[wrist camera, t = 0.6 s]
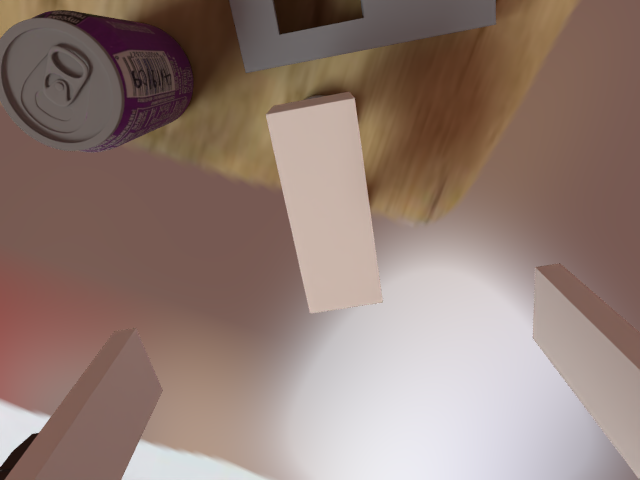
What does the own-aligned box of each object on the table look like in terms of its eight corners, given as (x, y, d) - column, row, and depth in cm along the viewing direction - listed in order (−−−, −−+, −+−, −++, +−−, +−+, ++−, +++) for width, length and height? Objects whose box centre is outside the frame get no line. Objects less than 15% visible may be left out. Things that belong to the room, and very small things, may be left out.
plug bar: (284, 93, 32) (265, 114, 21) (342, 82, 32) (354, 98, 21) (312, 236, 37) (310, 313, 26) (363, 227, 37) (382, 302, 26)
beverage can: (123, 1, 30) (8, -30, 19) (213, 63, 31) (155, 67, 20) (85, 89, 32) (-37, 108, 21) (170, 142, 34) (97, 185, 23)
